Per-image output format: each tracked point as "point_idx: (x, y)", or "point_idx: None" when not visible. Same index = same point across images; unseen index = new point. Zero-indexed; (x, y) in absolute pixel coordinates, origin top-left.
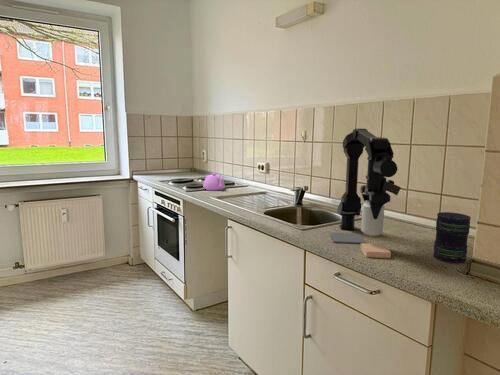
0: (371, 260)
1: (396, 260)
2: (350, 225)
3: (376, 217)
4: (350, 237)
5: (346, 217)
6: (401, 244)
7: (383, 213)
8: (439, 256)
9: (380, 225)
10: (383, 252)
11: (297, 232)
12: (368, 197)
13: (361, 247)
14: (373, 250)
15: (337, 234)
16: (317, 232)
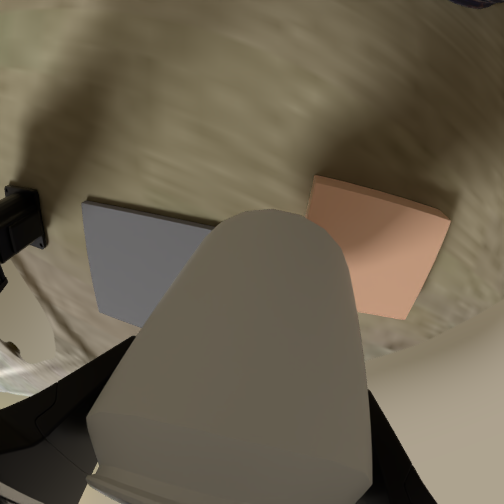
0: (432, 298)
1: (465, 199)
2: (29, 225)
3: (370, 407)
4: (142, 266)
5: (7, 256)
6: (223, 26)
7: (345, 374)
8: (479, 2)
9: (353, 302)
10: (436, 254)
11: None
12: (60, 490)
13: None
14: (404, 289)
15: (115, 298)
16: (100, 334)
